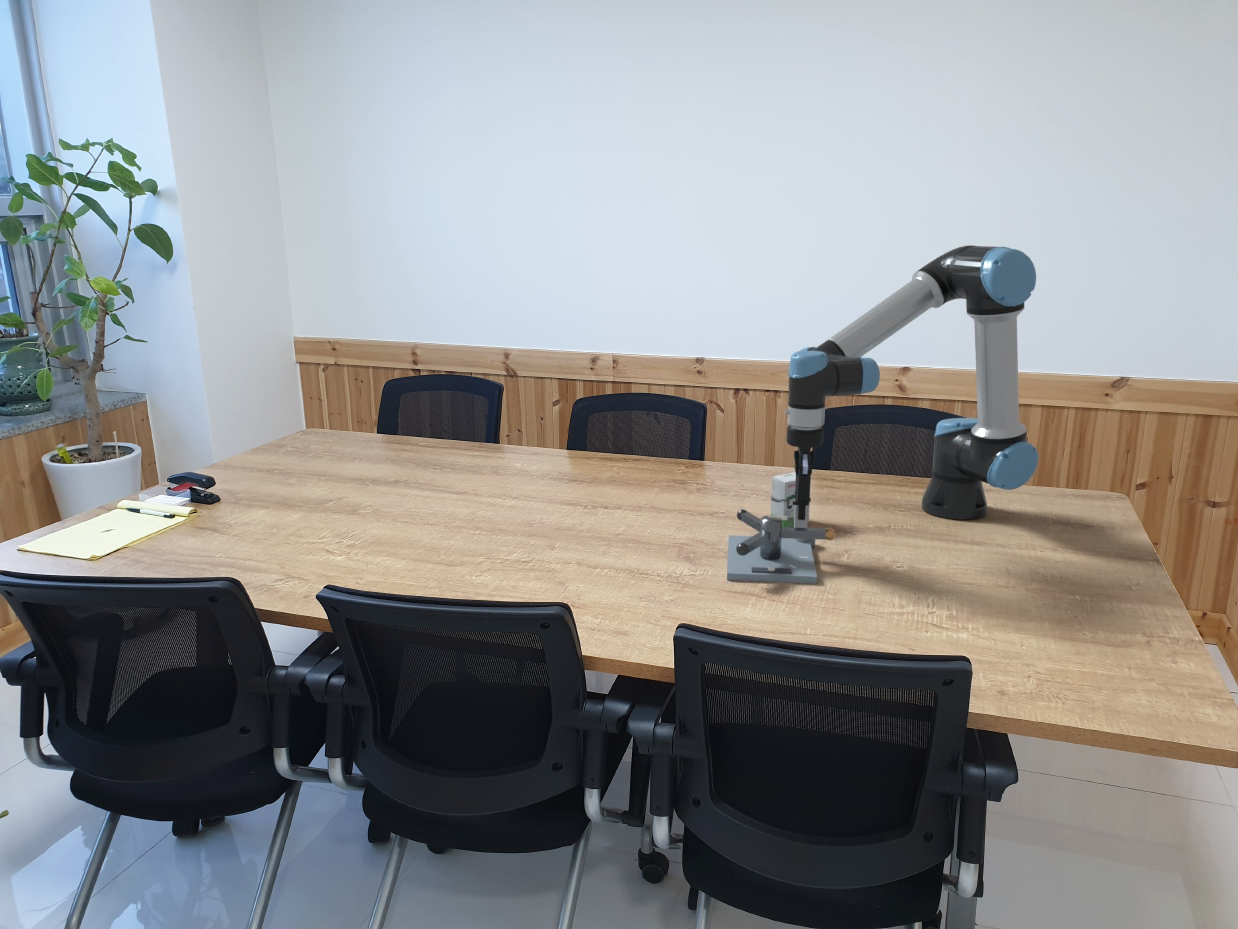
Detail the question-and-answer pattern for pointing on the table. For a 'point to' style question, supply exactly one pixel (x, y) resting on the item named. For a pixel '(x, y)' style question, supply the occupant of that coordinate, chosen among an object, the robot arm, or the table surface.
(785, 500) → the ink box
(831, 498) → the table surface
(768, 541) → the capstan
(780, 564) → the stand
